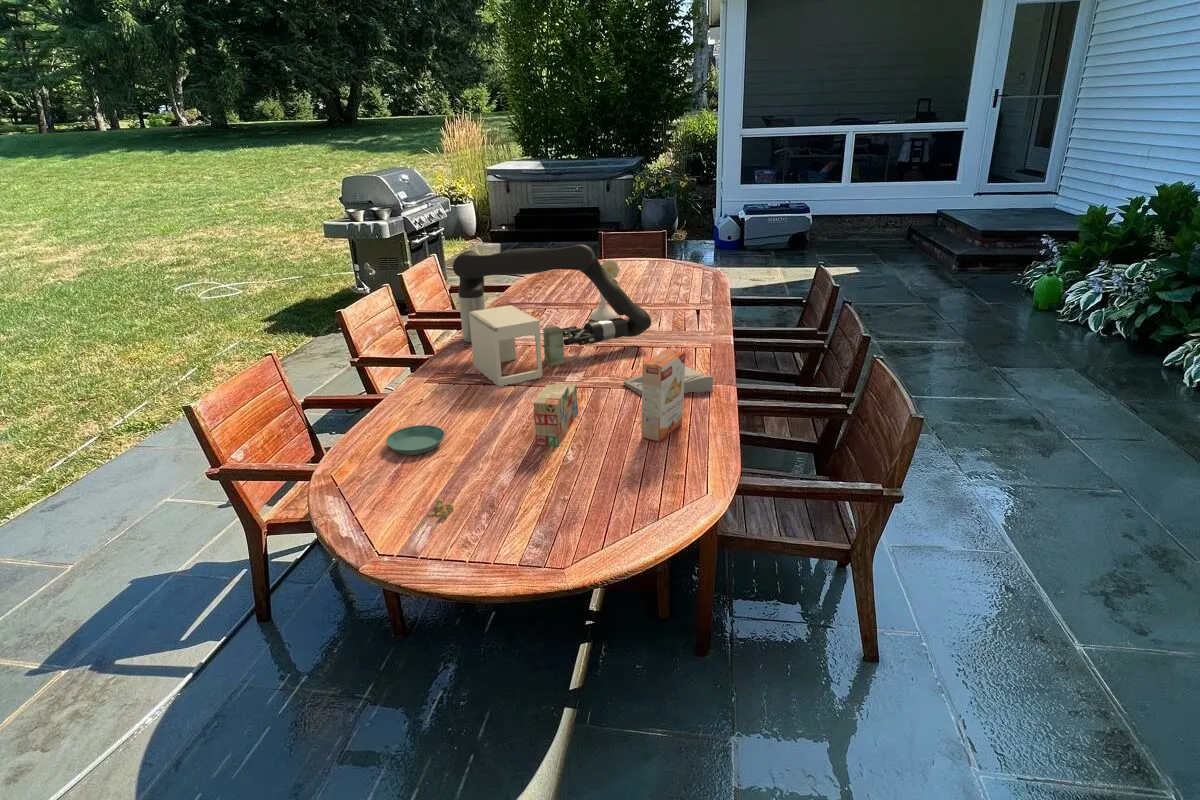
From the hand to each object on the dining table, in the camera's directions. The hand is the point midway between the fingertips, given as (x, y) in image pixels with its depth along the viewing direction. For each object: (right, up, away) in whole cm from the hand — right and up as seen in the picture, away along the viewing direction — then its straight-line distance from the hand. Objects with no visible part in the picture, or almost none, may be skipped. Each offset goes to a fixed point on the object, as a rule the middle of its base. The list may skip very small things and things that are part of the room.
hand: (558, 339), depth 229 cm
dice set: (-20, -46, -85) cm, 98 cm away
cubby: (-16, -11, -5) cm, 20 cm away
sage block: (-1, -8, +2) cm, 8 cm away
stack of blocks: (+3, -29, -47) cm, 55 cm away
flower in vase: (+16, +12, +49) cm, 53 cm away
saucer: (-33, -33, -55) cm, 72 cm away
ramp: (+35, -18, -21) cm, 45 cm away
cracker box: (+31, -29, -50) cm, 65 cm away
